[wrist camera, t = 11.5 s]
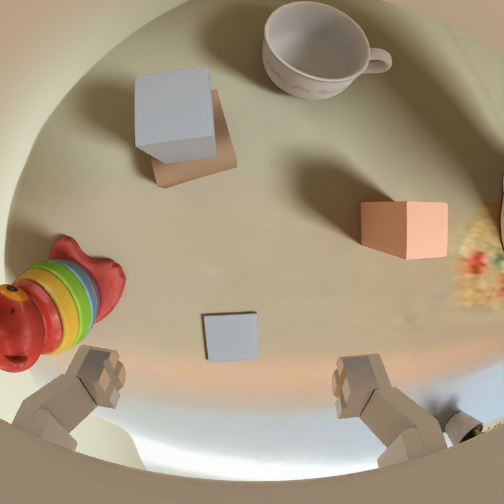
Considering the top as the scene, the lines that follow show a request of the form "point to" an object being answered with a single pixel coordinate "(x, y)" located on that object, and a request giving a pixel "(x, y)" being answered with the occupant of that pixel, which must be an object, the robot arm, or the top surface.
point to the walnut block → (200, 168)
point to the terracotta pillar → (405, 228)
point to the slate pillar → (175, 115)
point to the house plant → (463, 428)
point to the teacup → (317, 50)
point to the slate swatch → (232, 337)
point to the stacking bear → (55, 304)
